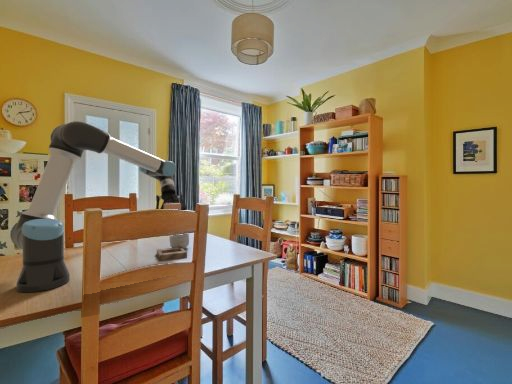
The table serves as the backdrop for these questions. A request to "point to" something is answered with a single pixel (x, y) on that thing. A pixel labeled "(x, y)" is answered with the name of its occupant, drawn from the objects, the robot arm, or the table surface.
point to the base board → (171, 253)
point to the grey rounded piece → (179, 241)
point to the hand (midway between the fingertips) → (173, 221)
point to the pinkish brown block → (172, 206)
